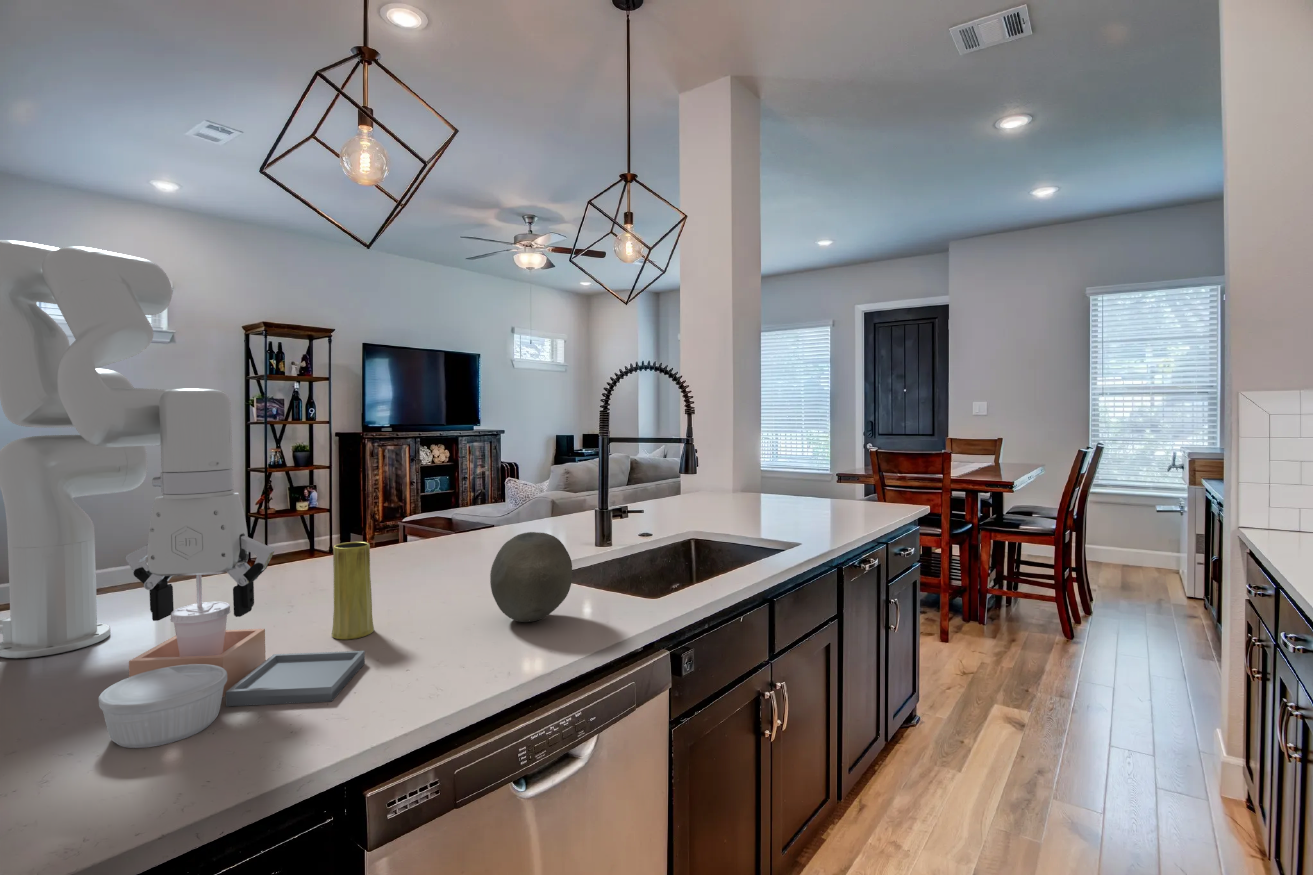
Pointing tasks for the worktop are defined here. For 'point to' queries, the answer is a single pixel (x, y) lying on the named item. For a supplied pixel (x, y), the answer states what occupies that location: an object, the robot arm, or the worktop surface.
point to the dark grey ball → (531, 576)
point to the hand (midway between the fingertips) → (203, 615)
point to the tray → (296, 678)
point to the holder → (237, 657)
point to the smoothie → (200, 626)
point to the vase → (352, 591)
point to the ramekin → (163, 704)
